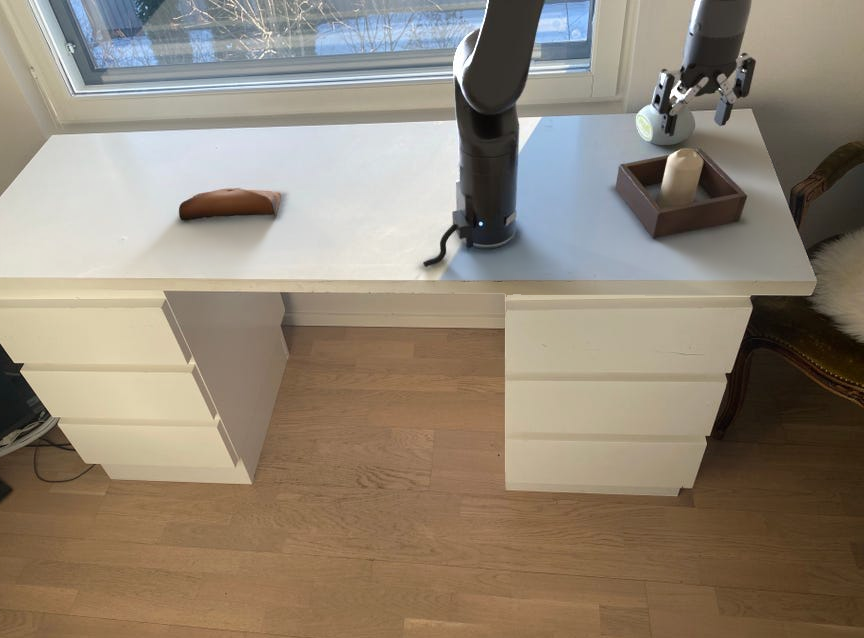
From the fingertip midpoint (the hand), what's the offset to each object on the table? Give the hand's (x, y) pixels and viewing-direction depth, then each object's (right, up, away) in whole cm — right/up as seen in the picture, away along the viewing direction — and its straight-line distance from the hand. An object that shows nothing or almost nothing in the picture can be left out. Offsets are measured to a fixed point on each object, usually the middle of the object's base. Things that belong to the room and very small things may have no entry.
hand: (693, 128), depth 113 cm
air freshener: (+5, +6, +25) cm, 26 cm away
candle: (+1, -10, +10) cm, 14 cm away
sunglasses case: (-77, -8, +22) cm, 81 cm away
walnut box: (+1, -10, +10) cm, 14 cm away
